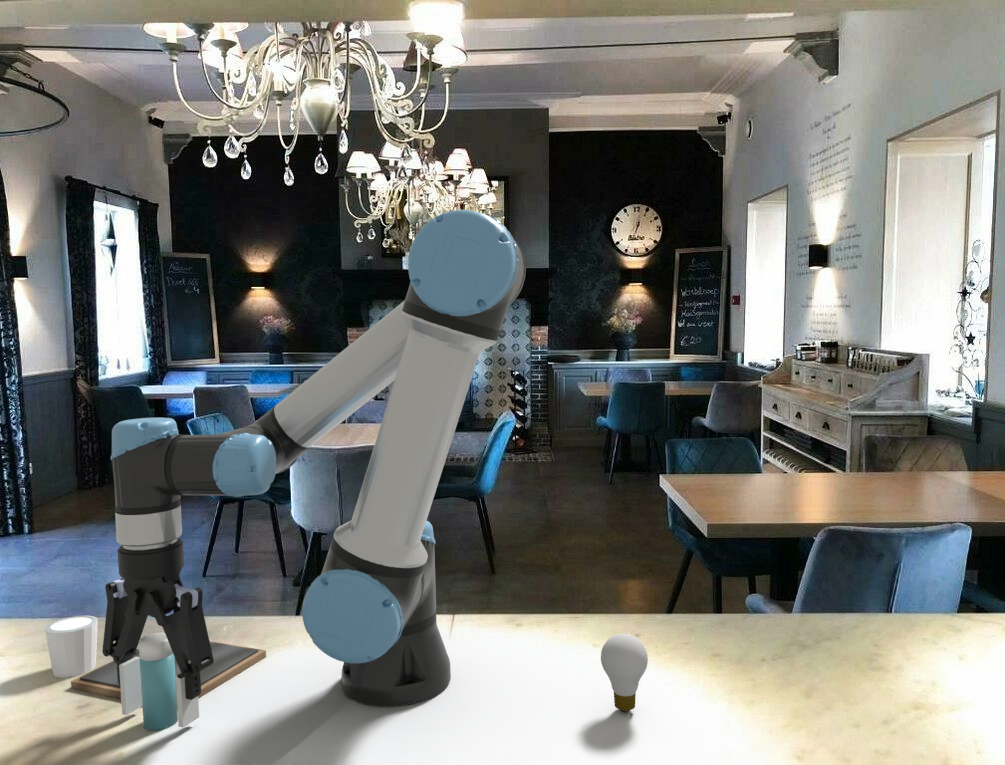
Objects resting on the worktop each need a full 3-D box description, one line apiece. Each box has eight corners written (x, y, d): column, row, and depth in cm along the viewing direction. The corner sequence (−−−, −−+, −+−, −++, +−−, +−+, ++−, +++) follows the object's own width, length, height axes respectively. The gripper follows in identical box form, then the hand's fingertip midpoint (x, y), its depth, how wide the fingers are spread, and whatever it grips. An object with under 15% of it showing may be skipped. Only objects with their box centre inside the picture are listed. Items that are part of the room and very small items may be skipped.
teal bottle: (184, 717, 100) (180, 634, 99) (160, 733, 96) (155, 646, 95) (161, 712, 101) (156, 630, 101) (136, 727, 98) (131, 642, 97)
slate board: (266, 656, 118) (265, 648, 118) (178, 710, 102) (178, 700, 102) (167, 640, 125) (167, 632, 125) (71, 688, 109) (70, 679, 109)
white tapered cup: (77, 680, 111) (74, 633, 111) (36, 677, 113) (33, 630, 112) (110, 660, 118) (108, 615, 118) (71, 657, 119) (68, 613, 119)
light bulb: (637, 727, 95) (636, 648, 94) (593, 716, 98) (592, 638, 97) (655, 707, 100) (654, 631, 99) (613, 696, 103) (611, 623, 102)
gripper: (239, 540, 97) (248, 715, 98) (112, 527, 105) (122, 689, 106) (195, 557, 90) (205, 745, 91) (62, 542, 98) (73, 715, 99)
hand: (160, 715), depth 99 cm, fingers open, 9 cm apart
